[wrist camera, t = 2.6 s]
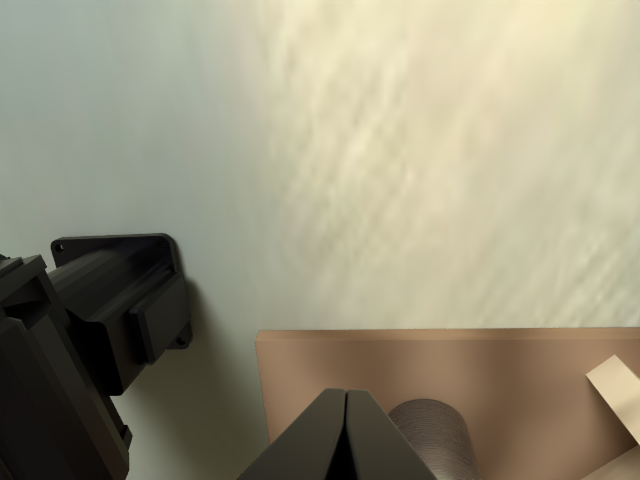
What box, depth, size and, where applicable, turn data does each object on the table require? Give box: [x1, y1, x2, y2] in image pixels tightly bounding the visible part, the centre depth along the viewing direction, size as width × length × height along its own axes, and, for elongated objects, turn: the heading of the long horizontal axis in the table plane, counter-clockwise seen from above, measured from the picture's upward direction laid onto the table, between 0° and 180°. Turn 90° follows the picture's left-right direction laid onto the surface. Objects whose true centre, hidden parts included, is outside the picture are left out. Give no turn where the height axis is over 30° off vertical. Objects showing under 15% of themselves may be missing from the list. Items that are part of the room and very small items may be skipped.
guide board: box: [255, 327, 640, 480], centre depth 22 cm, size 23×11×1 cm, turn 94°
